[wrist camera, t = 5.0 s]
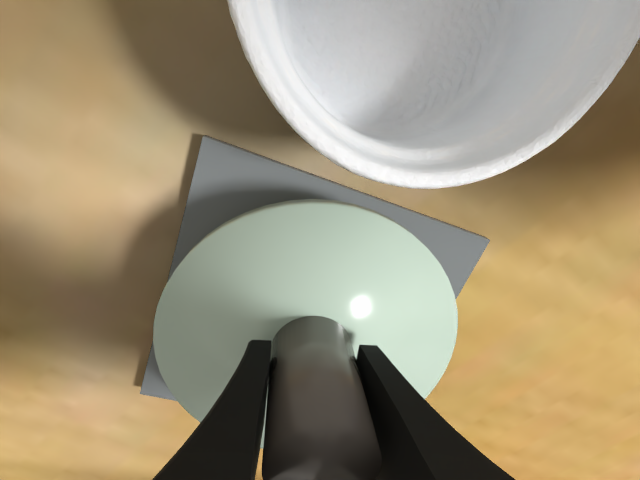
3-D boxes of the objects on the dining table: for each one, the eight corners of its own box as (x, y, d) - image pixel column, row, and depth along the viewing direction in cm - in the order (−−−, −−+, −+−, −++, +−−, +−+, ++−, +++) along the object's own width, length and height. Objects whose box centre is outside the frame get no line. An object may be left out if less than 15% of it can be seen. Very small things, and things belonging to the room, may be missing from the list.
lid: (488, 218, 11) (622, 293, 6) (411, 439, 14) (462, 578, 10) (152, 179, 9) (34, 241, 5) (165, 435, 13) (105, 595, 9)
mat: (484, 236, 13) (490, 240, 12) (372, 430, 16) (374, 438, 16) (205, 135, 11) (203, 136, 10) (143, 386, 14) (139, 393, 14)
